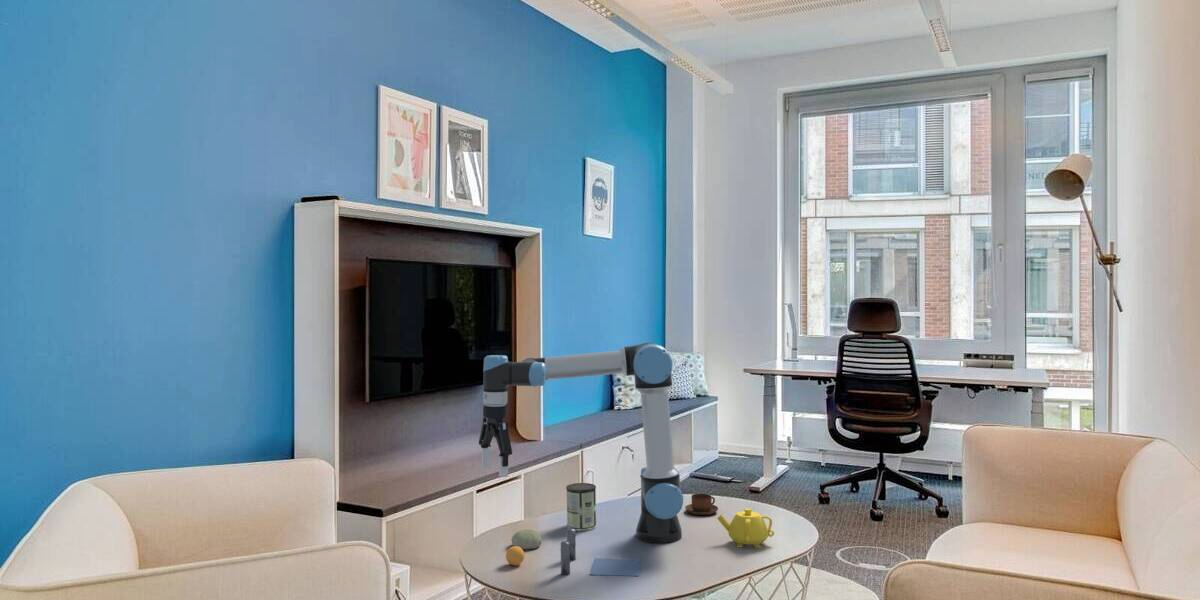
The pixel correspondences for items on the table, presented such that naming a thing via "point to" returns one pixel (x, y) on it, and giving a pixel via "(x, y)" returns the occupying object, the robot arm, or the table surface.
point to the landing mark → (615, 567)
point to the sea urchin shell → (527, 539)
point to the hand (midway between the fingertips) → (494, 472)
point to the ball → (515, 555)
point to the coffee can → (581, 506)
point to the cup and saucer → (702, 505)
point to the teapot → (748, 527)
